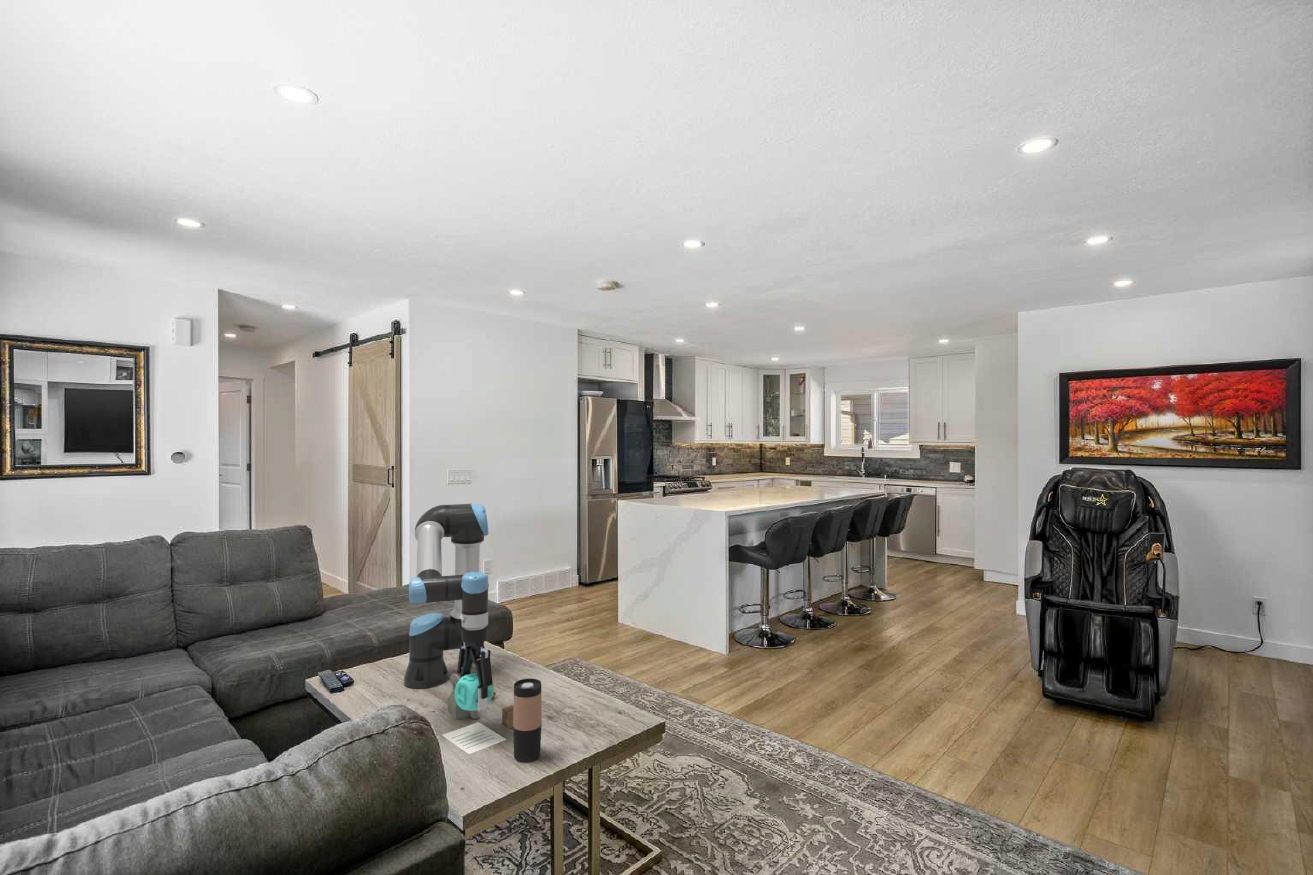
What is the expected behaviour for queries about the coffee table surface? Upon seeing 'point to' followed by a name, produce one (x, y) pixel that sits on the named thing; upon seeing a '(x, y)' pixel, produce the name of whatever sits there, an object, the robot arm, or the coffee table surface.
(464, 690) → the decorative dice
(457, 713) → the grey angular piece
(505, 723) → the walnut block
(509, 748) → the coffee table surface
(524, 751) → the travel mug
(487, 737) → the letter
